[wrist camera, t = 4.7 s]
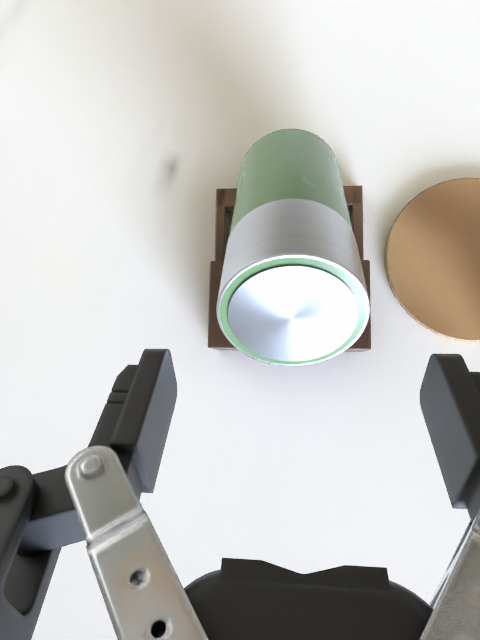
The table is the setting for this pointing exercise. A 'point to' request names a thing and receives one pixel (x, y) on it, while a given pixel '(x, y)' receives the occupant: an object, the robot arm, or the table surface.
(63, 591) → the table surface
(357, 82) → the table surface
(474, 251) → the cork coaster
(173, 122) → the table surface
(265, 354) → the green can
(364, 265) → the walnut rest
